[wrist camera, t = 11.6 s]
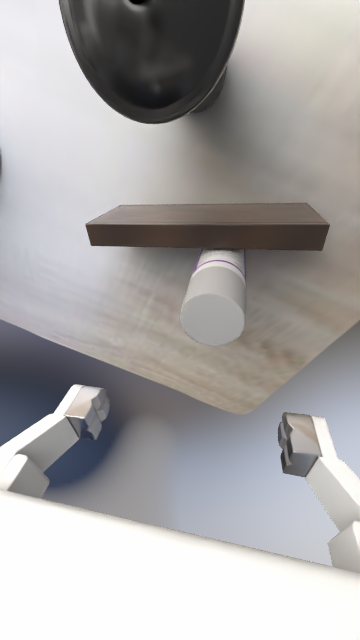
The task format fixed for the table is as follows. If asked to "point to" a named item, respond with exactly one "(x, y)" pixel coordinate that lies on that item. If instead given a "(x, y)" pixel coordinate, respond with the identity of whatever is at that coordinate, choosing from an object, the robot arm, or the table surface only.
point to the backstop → (212, 226)
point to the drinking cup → (153, 52)
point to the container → (216, 297)
